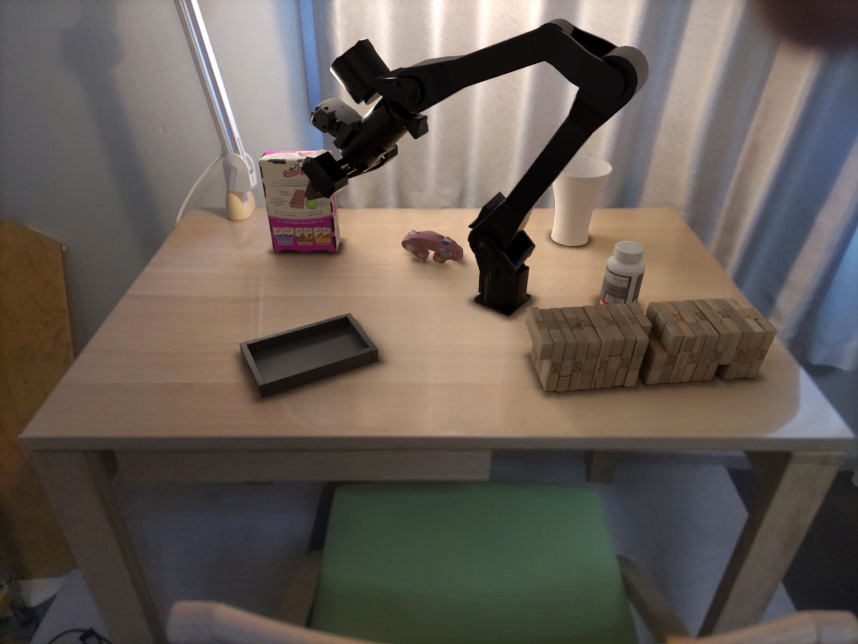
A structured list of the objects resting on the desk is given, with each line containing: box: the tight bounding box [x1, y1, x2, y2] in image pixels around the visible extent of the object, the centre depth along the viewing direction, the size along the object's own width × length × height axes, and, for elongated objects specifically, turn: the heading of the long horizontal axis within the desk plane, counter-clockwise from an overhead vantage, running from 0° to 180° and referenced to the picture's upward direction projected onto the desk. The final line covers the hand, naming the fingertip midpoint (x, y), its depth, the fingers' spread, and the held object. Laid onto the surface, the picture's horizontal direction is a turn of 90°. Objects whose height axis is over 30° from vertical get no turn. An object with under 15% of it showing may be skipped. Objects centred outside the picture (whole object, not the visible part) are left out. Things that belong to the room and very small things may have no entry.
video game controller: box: [401, 229, 464, 265], centre depth 100 cm, size 10×5×7 cm, turn 68°
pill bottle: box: [599, 240, 646, 305], centre depth 88 cm, size 5×5×10 cm
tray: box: [238, 312, 379, 399], centre depth 79 cm, size 16×10×2 cm, turn 118°
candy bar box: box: [258, 150, 341, 253], centre depth 101 cm, size 11×5×16 cm, turn 89°
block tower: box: [524, 296, 778, 393], centre depth 76 cm, size 8×8×29 cm
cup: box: [550, 154, 614, 247], centre depth 105 cm, size 10×10×14 cm
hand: (324, 187), depth 97 cm, fingers open, 9 cm apart
